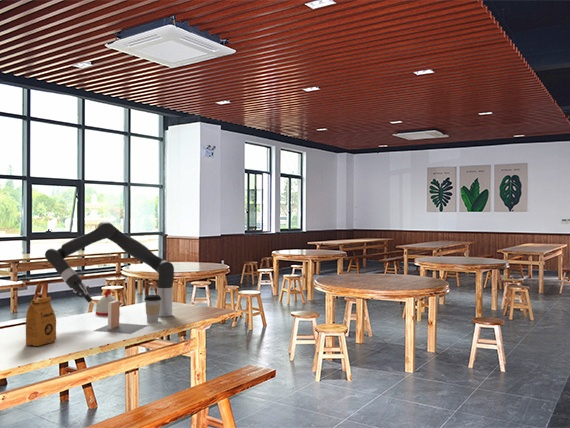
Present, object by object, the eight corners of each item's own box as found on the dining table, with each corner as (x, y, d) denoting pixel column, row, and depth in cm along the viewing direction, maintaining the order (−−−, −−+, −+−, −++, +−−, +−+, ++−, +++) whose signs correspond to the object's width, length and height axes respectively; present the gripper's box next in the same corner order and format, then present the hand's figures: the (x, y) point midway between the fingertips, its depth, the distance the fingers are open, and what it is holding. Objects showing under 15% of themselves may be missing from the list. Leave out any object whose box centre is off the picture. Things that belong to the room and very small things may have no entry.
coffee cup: (156, 324, 287) (156, 297, 287) (141, 323, 289) (141, 296, 289) (163, 320, 296) (164, 295, 296) (148, 319, 298) (149, 294, 298)
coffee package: (59, 342, 246) (60, 296, 246) (37, 348, 235) (37, 300, 235) (45, 339, 250) (45, 295, 250) (22, 345, 239) (23, 298, 239)
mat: (92, 331, 268) (92, 330, 268) (113, 323, 287) (113, 322, 287) (130, 334, 263) (130, 333, 263) (149, 326, 282) (149, 325, 282)
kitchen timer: (122, 311, 322) (122, 287, 321) (115, 315, 308) (115, 291, 308) (99, 311, 321) (100, 287, 321) (92, 315, 307) (92, 290, 307)
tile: (107, 328, 272) (108, 302, 272) (115, 325, 280) (116, 300, 280) (111, 329, 272) (111, 303, 272) (119, 325, 280) (119, 300, 279)
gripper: (67, 274, 275) (87, 298, 272) (82, 271, 287) (102, 294, 285) (59, 284, 276) (79, 308, 273) (74, 280, 289) (93, 303, 286)
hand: (90, 301), depth 279 cm, fingers closed
